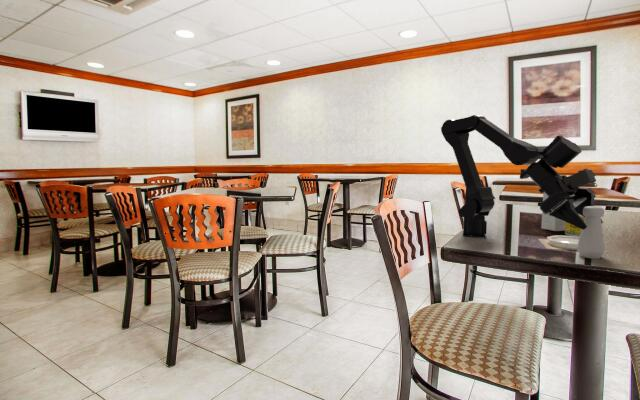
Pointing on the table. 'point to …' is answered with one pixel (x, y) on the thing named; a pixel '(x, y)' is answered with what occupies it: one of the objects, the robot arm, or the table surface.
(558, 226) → the skincare box
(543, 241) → the placemat
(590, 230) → the salt shaker
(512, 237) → the table surface
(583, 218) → the supplement bottle
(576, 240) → the dish
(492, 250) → the table surface
